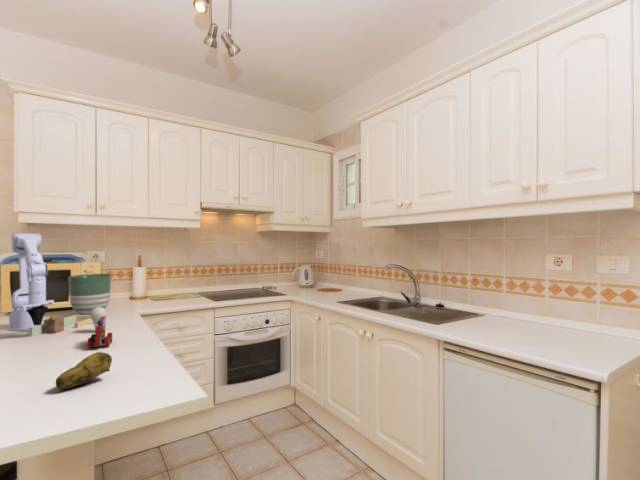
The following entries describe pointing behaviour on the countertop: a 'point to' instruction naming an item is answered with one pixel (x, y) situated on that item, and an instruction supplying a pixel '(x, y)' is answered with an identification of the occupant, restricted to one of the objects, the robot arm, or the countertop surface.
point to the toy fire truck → (100, 335)
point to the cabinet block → (53, 325)
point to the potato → (85, 371)
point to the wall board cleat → (77, 319)
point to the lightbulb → (97, 315)
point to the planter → (89, 292)
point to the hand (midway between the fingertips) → (37, 324)
